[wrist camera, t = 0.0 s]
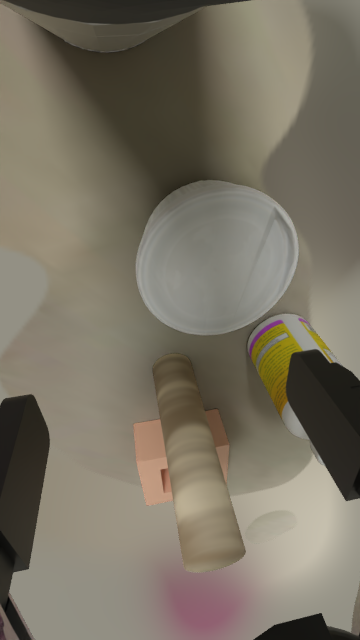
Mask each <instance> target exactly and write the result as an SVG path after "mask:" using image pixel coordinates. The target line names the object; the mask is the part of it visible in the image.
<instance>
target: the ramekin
mask: <svg viewBox="0 0 360 640" xmlns="http://www.w3.org/2000/svg"><path fill="white" fill-rule="evenodd" d="M298 257H299V244H298V236H297V232H296V229H295V226H294V224H293V222H292V220H291V218H290V217H289V215H288V214H287V212H286V211H285V210H284V209H283V208H282V207H281V206H280V205H279V204H278V203H277V202H276V201H275V200H273V199H272V198H271V197H269V196H268V195H266V194H265V193H263V192H261V191H259V190H256V189H254V188H251V187H247V186H243V185H236V184H233V183H230V182H223V181H220V180H206V181H202V180H200V181H197V182H195V183H190V184H188V185H186V186H182V187H180V188H179V189H177V190H175V191H173V192H172V193H171V194H169V195H168V196H166V197H165V199H164V200H162V201H161V202H160V203H159V205H158V206H157V207H156V208H155V209H154V211H153V213H152V214H151V216H150V217H149V221H148V223H147V224H146V227H145V231H144V233H143V237H142V240H141V242H140V245H139V248H138V252H137V257H136V279H137V285H138V289H139V292H140V295H141V297H142V299H143V301H144V303H145V305H146V306H147V308H148V309H149V310H150V311H151V313H152V314H153V315H154V316H155V317H156V318H157V319H158V320H160V321H161V322H162V323H164V324H165V325H167V326H169V327H171V328H173V329H175V330H178V331H180V332H183V333H188V334H193V335H219V334H224V333H228V332H232V331H235V330H237V329H240V328H242V327H245V326H247V325H249V324H250V323H252V322H254V321H256V320H257V319H259V318H260V317H261V316H263V315H264V314H265V313H266V312H268V311H269V310H270V309H271V308H272V307H273V306H274V305H275V304H276V303H277V302H278V301H279V299H280V298H281V297H282V296H283V294H284V293H285V291H286V290H287V288H288V286H289V285H290V283H291V281H292V278H293V276H294V274H295V270H296V267H297V263H298Z"/></svg>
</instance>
